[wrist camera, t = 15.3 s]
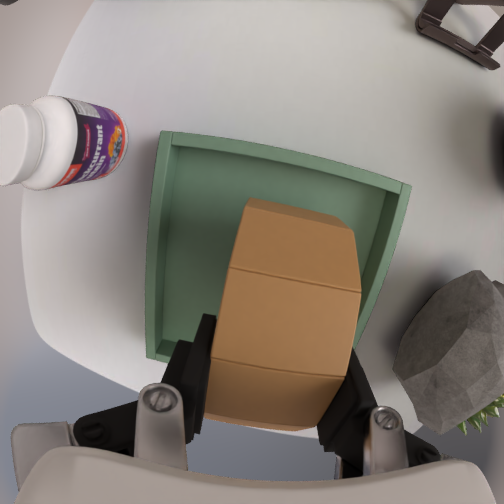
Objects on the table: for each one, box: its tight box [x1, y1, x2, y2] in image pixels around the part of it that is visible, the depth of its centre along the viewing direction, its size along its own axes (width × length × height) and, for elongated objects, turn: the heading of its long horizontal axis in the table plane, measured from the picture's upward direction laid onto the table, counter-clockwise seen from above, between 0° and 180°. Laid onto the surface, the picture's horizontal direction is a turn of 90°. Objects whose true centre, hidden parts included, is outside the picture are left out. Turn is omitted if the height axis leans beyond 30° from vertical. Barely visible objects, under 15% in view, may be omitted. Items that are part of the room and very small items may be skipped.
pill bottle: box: [0, 95, 128, 190], centre depth 12 cm, size 5×5×10 cm
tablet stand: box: [416, 0, 504, 70], centre depth 8 cm, size 9×8×8 cm
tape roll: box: [204, 197, 361, 431], centre depth 14 cm, size 4×11×11 cm, turn 169°
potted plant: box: [393, 270, 504, 435], centre depth 16 cm, size 12×13×15 cm
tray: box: [145, 131, 412, 363], centre depth 18 cm, size 16×17×3 cm
